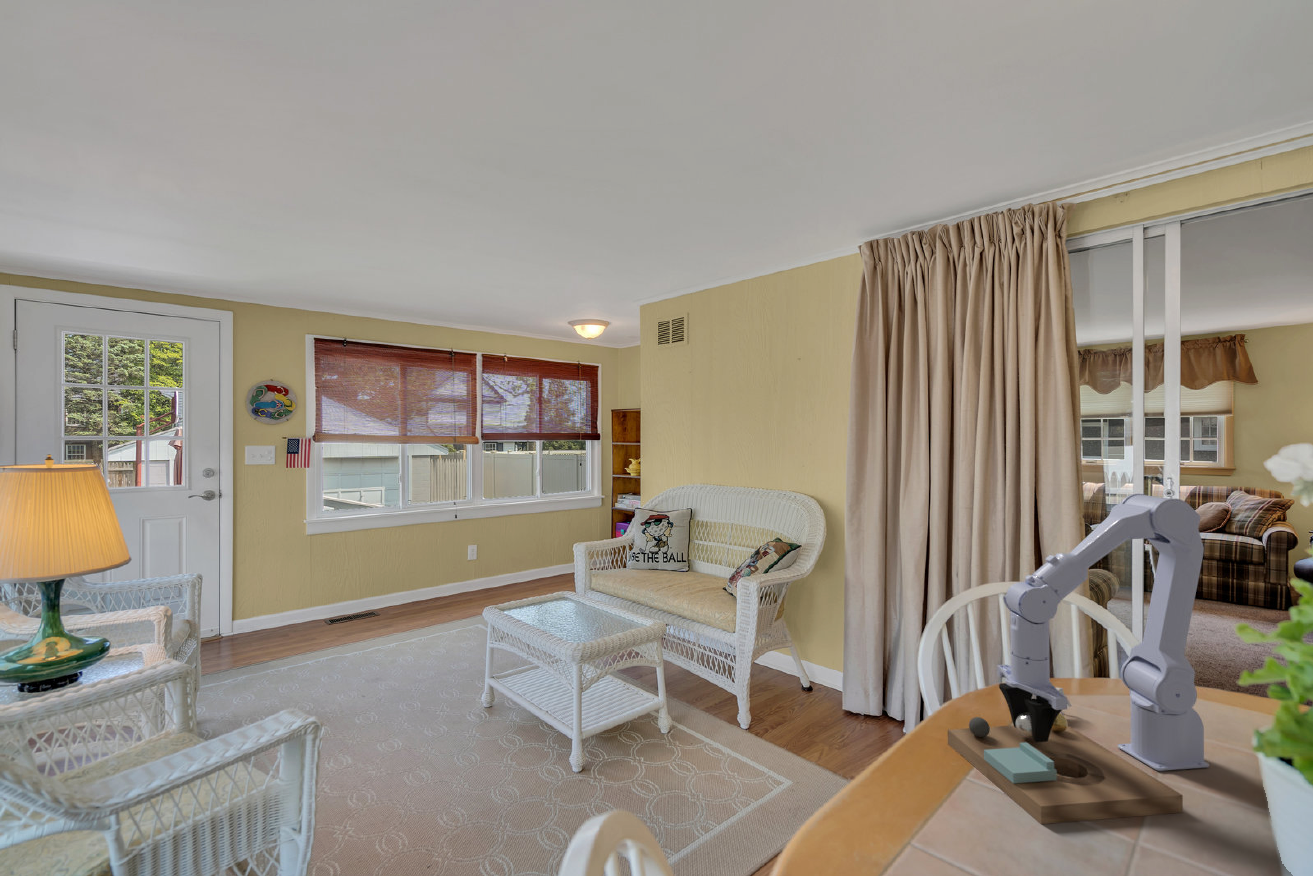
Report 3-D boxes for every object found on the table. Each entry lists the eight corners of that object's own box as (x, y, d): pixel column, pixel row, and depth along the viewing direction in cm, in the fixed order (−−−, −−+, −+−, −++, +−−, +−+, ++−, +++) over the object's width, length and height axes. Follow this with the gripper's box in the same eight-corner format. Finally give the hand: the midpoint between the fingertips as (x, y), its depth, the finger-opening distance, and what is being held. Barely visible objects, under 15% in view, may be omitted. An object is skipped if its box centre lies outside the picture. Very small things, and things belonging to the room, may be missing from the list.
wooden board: (1062, 736, 113) (1062, 722, 113) (1182, 812, 90) (1182, 795, 90) (947, 743, 110) (947, 729, 110) (1041, 824, 88) (1040, 806, 88)
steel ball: (1033, 732, 109) (1033, 707, 109) (1051, 744, 105) (1051, 718, 105) (1009, 733, 109) (1009, 708, 109) (1027, 746, 104) (1027, 720, 104)
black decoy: (982, 731, 110) (982, 713, 110) (993, 740, 106) (993, 721, 106) (965, 732, 109) (964, 714, 109) (976, 741, 106) (976, 722, 106)
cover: (1024, 756, 101) (1024, 741, 101) (1056, 780, 94) (1056, 763, 94) (983, 759, 100) (983, 743, 100) (1013, 783, 93) (1013, 766, 93)
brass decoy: (1058, 726, 111) (1058, 708, 111) (1072, 735, 108) (1072, 716, 108) (1041, 727, 111) (1041, 709, 111) (1055, 736, 108) (1055, 717, 108)
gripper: (981, 641, 113) (982, 716, 114) (1038, 671, 99) (1038, 757, 99) (1017, 640, 114) (1018, 714, 114) (1079, 669, 100) (1079, 754, 100)
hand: (1030, 733), depth 107 cm, fingers closed on steel ball, 4 cm apart
